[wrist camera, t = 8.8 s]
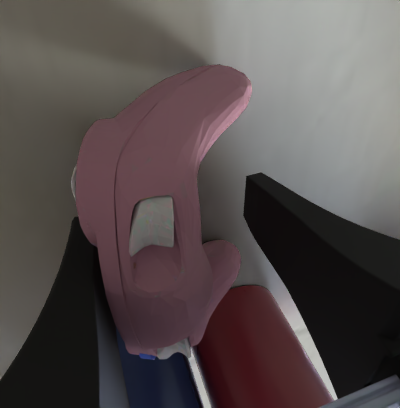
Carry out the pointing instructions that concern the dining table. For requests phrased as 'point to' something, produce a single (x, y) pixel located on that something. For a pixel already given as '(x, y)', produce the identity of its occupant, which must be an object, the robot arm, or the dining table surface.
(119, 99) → the dining table surface
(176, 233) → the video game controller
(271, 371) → the tin can burgundy
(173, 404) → the tin can navy
